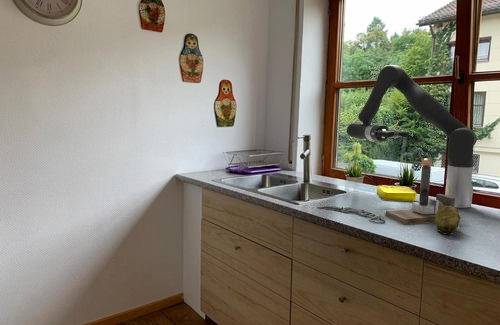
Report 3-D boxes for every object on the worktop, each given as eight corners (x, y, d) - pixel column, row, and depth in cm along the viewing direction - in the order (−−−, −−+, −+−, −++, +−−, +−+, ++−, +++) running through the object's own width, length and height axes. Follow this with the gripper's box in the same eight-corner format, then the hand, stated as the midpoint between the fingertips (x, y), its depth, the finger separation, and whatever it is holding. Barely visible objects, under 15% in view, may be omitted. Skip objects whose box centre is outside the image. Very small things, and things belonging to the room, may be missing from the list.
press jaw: (423, 209, 140) (428, 157, 137) (437, 213, 133) (442, 159, 130) (410, 209, 138) (414, 157, 136) (423, 214, 132) (428, 159, 129)
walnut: (438, 210, 140) (439, 200, 139) (446, 212, 136) (447, 202, 136) (429, 210, 139) (430, 200, 138) (437, 213, 135) (438, 203, 134)
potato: (426, 231, 120) (428, 208, 119) (439, 224, 129) (441, 202, 128) (453, 238, 114) (455, 213, 113) (465, 229, 123) (467, 206, 122)
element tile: (382, 200, 164) (383, 190, 164) (375, 193, 179) (376, 184, 178) (417, 202, 162) (418, 191, 162) (407, 195, 177) (408, 185, 176)
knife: (316, 206, 148) (331, 201, 154) (316, 209, 148) (331, 204, 154) (378, 223, 126) (393, 217, 132) (378, 227, 126) (393, 221, 133)
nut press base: (435, 212, 144) (436, 192, 143) (457, 220, 134) (459, 199, 132) (385, 216, 138) (386, 195, 137) (404, 224, 127) (406, 202, 126)
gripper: (363, 124, 166) (385, 125, 151) (390, 124, 170) (414, 126, 155) (362, 140, 167) (384, 143, 152) (389, 140, 171) (413, 143, 156)
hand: (399, 134), depth 153 cm, fingers open, 8 cm apart
